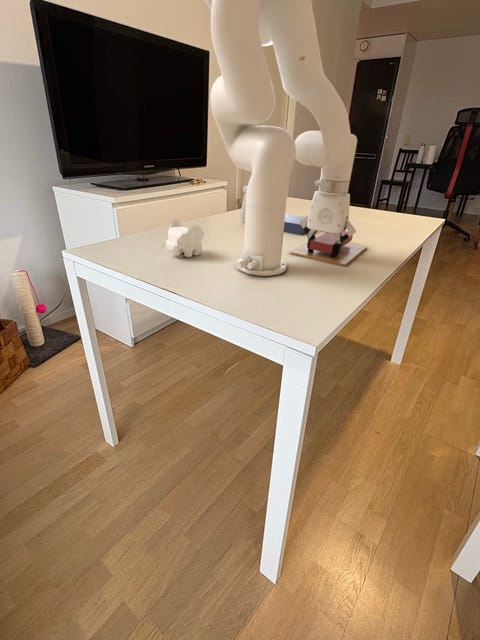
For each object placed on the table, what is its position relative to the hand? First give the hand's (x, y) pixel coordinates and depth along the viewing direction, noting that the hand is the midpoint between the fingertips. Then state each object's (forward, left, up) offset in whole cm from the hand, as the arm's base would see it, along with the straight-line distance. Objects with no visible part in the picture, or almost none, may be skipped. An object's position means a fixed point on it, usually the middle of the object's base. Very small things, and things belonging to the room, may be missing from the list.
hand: (322, 253), depth 97 cm
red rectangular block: (+7, 0, +1) cm, 7 cm away
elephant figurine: (-24, +31, -1) cm, 39 cm away
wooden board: (+6, 0, -1) cm, 6 cm away
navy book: (+23, +23, -1) cm, 32 cm away
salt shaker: (+21, +39, -1) cm, 44 cm away
